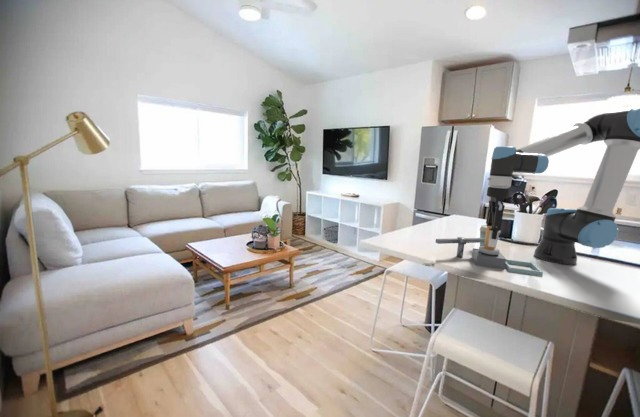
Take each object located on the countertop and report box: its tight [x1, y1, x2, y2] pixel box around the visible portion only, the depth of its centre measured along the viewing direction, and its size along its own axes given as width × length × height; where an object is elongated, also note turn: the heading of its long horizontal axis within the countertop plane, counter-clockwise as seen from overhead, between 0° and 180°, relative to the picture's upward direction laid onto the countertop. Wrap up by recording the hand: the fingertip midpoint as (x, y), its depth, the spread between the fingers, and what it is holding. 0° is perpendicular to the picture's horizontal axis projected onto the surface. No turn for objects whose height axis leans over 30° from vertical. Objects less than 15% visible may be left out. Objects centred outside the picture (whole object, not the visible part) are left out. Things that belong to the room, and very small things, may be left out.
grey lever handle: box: [435, 236, 485, 259], centre depth 127 cm, size 24×4×9 cm, turn 104°
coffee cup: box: [479, 224, 501, 248], centre depth 140 cm, size 8×9×12 cm
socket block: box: [471, 247, 507, 270], centre depth 123 cm, size 18×11×5 cm, turn 72°
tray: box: [505, 258, 544, 277], centre depth 117 cm, size 11×11×2 cm
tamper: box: [478, 226, 501, 256], centre depth 121 cm, size 7×7×15 cm
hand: (490, 244), depth 121 cm, fingers open, 6 cm apart
